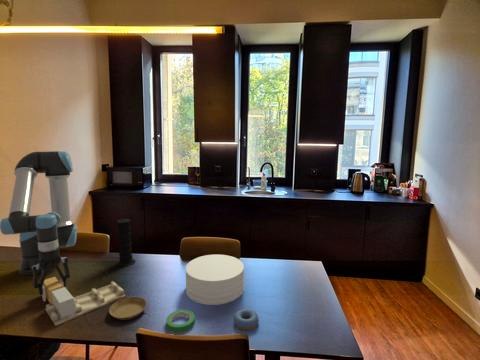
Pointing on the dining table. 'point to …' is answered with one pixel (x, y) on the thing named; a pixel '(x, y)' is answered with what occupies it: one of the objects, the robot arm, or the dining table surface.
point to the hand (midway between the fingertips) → (53, 296)
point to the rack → (89, 302)
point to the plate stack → (214, 279)
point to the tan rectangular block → (51, 287)
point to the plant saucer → (128, 308)
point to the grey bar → (63, 302)
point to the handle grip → (124, 243)
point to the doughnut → (246, 319)
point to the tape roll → (180, 327)
